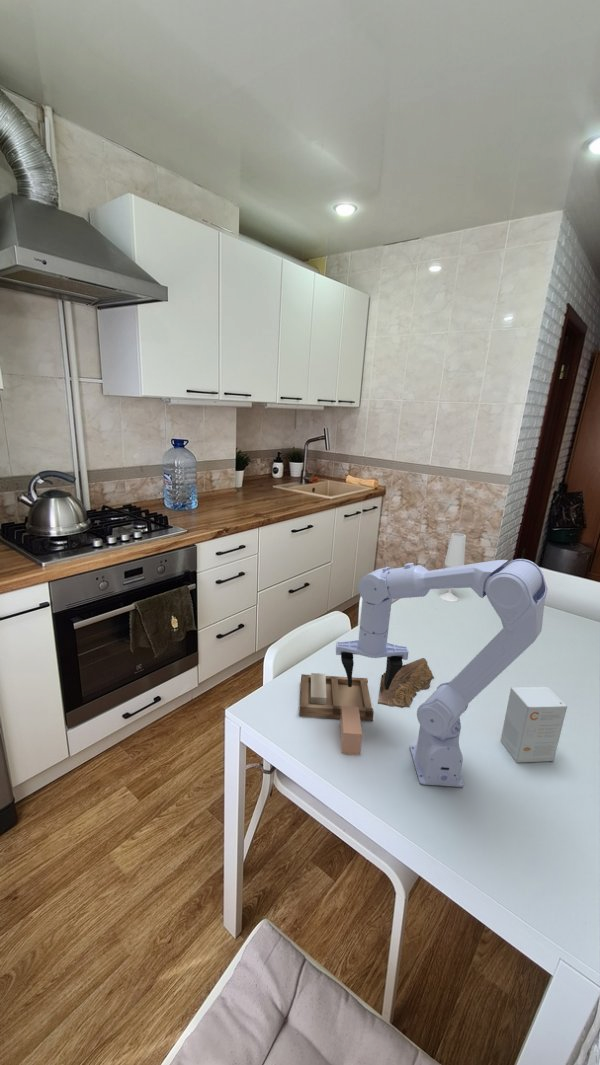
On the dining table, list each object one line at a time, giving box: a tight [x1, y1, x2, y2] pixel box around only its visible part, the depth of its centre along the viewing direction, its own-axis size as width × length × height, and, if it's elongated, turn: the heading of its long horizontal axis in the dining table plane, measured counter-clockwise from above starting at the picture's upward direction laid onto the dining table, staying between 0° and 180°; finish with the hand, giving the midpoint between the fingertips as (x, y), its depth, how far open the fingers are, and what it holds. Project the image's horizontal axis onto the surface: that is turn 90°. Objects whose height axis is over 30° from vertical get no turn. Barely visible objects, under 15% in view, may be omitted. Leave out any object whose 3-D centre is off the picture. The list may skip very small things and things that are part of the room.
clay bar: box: [339, 706, 363, 756], centre depth 91 cm, size 8×4×5 cm, turn 178°
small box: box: [500, 686, 568, 763], centre depth 89 cm, size 8×6×13 cm
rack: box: [299, 672, 375, 722], centre depth 103 cm, size 16×12×4 cm
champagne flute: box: [439, 532, 467, 603], centre depth 160 cm, size 7×7×24 cm
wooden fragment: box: [377, 657, 435, 708], centre depth 112 cm, size 26×11×1 cm, turn 140°
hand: (367, 685), depth 94 cm, fingers open, 7 cm apart
